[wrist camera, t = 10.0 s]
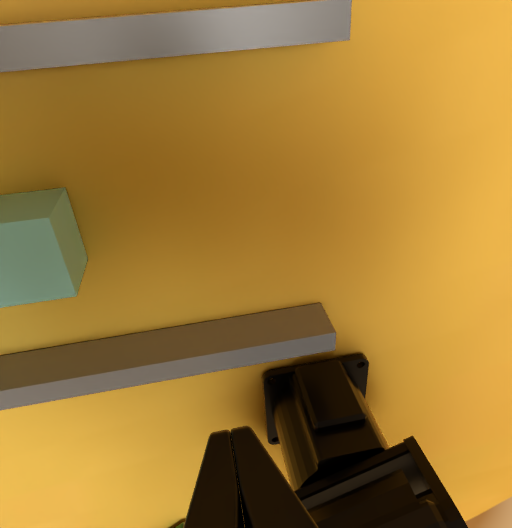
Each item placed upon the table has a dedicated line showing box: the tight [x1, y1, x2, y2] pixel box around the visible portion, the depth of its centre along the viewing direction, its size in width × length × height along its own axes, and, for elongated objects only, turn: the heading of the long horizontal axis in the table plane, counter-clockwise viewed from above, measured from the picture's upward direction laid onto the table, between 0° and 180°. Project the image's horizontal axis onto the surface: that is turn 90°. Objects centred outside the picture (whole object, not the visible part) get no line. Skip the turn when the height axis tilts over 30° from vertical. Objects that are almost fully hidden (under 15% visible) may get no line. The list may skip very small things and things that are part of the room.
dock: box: [0, 0, 352, 410], centre depth 17 cm, size 15×23×3 cm
